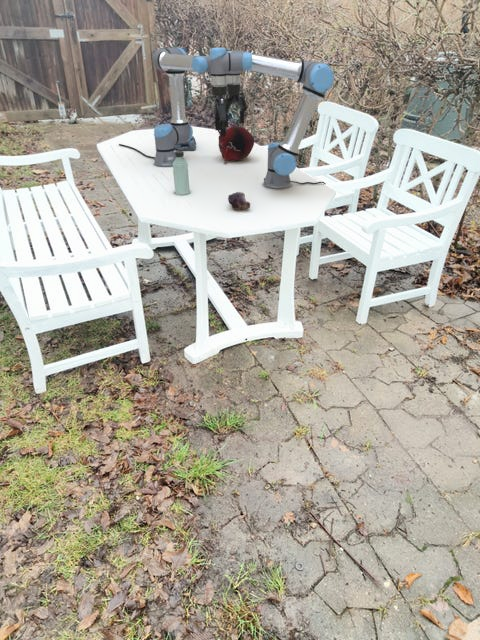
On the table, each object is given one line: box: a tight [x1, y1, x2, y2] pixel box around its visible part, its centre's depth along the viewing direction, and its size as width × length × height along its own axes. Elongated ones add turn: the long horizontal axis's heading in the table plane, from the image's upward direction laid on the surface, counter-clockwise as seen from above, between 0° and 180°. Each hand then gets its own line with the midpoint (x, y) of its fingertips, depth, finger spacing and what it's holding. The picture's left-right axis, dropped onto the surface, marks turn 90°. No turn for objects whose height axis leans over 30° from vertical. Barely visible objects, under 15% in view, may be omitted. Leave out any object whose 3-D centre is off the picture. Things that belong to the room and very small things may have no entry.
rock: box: [227, 191, 251, 211], centre depth 224 cm, size 12×9×10 cm
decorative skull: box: [217, 125, 255, 165], centre depth 297 cm, size 21×24×25 cm
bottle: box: [172, 156, 191, 196], centre depth 241 cm, size 8×8×21 cm
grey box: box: [174, 135, 197, 151], centre depth 321 cm, size 17×18×20 cm
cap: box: [174, 150, 185, 158], centre depth 236 cm, size 4×4×2 cm
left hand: (234, 125), depth 259 cm, fingers open, 13 cm apart
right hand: (220, 133), depth 225 cm, fingers open, 13 cm apart
